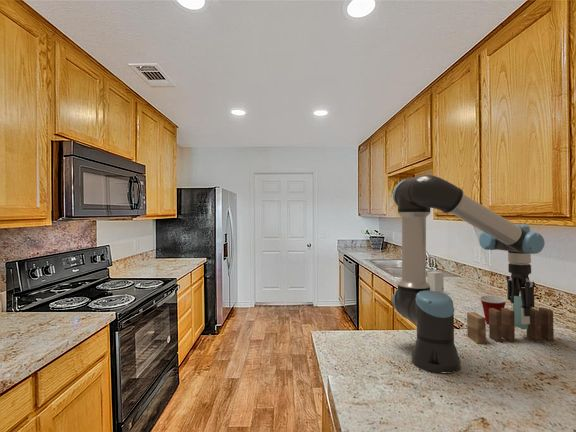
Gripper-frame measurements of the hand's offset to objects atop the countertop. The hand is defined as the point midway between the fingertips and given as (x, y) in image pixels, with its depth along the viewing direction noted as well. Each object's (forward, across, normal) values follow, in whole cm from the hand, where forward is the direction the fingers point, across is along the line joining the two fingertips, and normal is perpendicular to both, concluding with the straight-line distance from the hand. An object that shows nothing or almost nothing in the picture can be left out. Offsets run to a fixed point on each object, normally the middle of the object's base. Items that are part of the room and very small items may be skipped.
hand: (520, 321), depth 135 cm
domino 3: (+2, 0, 0) cm, 2 cm away
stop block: (+7, 0, +18) cm, 19 cm away
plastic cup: (+7, +19, 0) cm, 21 cm away
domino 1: (+7, 0, +10) cm, 12 cm away
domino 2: (+7, 0, +5) cm, 9 cm away
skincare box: (+7, +73, +3) cm, 74 cm away
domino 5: (+7, 0, -10) cm, 12 cm away
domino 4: (+7, 0, -5) cm, 9 cm away
